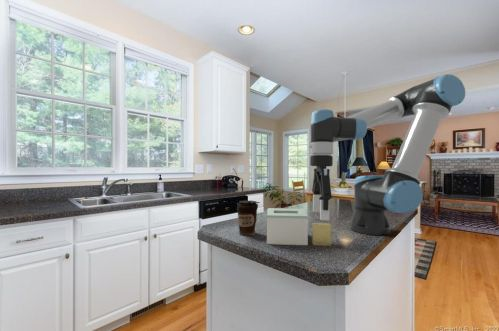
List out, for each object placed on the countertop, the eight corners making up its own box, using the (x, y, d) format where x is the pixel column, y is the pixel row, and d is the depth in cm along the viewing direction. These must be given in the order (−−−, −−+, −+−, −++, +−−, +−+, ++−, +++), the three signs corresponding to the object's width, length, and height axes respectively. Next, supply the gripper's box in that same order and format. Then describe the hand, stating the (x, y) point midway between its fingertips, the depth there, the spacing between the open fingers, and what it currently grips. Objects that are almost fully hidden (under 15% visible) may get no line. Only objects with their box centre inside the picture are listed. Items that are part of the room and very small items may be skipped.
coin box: (302, 233, 96) (302, 208, 96) (307, 245, 83) (307, 216, 83) (267, 232, 98) (267, 208, 98) (266, 243, 84) (266, 215, 84)
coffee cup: (255, 237, 91) (255, 203, 91) (234, 236, 93) (234, 202, 93) (259, 231, 100) (259, 200, 100) (240, 230, 102) (240, 199, 102)
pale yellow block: (329, 242, 85) (329, 223, 85) (331, 245, 82) (331, 225, 82) (311, 242, 86) (311, 222, 86) (313, 245, 83) (313, 224, 83)
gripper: (305, 156, 97) (304, 209, 97) (317, 152, 72) (316, 223, 72) (324, 156, 96) (323, 209, 96) (343, 153, 71) (341, 224, 71)
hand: (320, 215), depth 84 cm, fingers open, 13 cm apart
